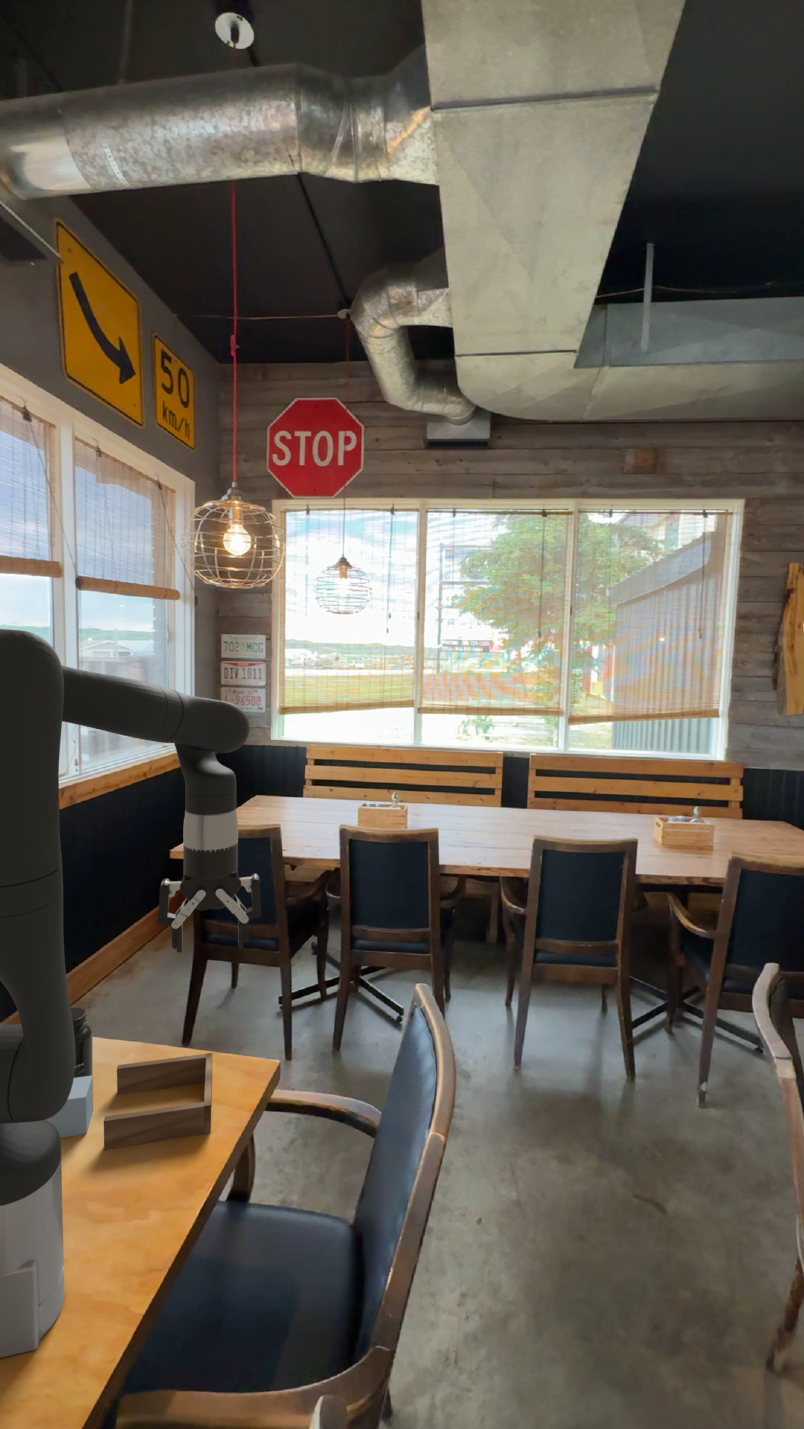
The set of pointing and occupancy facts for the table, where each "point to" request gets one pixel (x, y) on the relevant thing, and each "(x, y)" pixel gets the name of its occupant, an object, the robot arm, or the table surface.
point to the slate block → (76, 1109)
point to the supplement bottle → (82, 1043)
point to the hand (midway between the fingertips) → (210, 947)
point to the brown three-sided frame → (161, 1120)
